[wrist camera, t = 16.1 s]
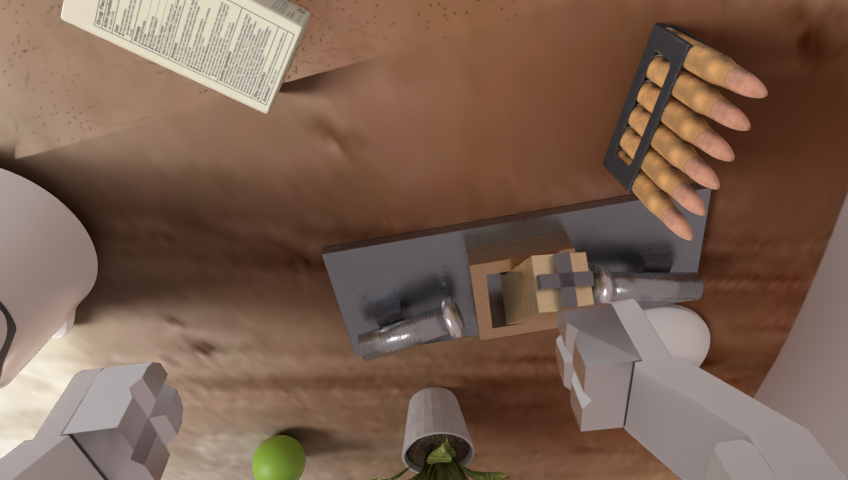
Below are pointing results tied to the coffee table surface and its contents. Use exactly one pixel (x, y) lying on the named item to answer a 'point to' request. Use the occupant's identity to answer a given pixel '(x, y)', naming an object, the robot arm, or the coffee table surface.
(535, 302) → the pale yellow block
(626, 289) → the shaft right
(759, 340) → the coffee table surface
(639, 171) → the ammunition clip
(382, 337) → the shaft left
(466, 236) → the coupler station
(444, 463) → the house plant
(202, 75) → the skincare box
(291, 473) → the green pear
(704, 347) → the candlestick
